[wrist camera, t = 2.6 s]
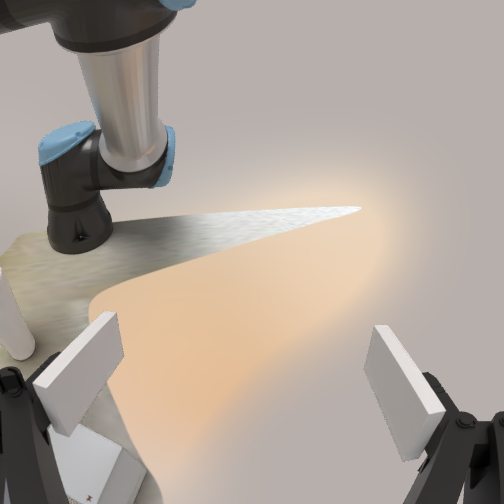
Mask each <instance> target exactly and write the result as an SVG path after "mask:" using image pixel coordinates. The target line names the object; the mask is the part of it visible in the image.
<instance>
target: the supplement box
mask: <svg viewBox="0 0 504 504" xmlns="http://www.w3.org/2000/svg"><path fill="white" fill-rule="evenodd" d="M48 432H49V434H50V439H51V443H52V447H53V451H54V455H55V459H56V463H57V466H58V470H59V473H60V477H61V480H62V483H63V486H64V489H65V492H66V495H67V496H68V497H70V498H71V499H73V500H74V501H76V502H78V503H79V504H133V503H134V501H135V498H136V496H137V493H138V491H139V489H140V486H141V484H142V482H143V480H144V477H145V475H146V472H147V469H146V468H145V467H144V466H143V465H142V464H141V463H139V462H138V461H137V460H136V459H135V458H134V457H133V456H132V455H131V454H130V453H129V452H128V451H127V450H126V449H125V448H124V447H123V446H121V445H119V444H118V443H116V442H114V441H112V440H110V439H108V438H106V437H104V436H102V435H100V434H99V433H97V432H95V431H93V430H91V429H89V428H88V427H86V426H84V425H82V424H80V423H79V424H78V425H77V427H76V428H75V430H74V431H73V433H72V435H71V436H70V438H69V437H66V436H63V435H61V434H58V433H56V432H55V431H54V429H53V427H52V425H50V427H49V429H48Z"/></svg>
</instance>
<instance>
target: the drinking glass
mask: <svg viewBox="0 0 504 504" xmlns="http://www.w3.org/2000/svg"><path fill="white" fill-rule="evenodd" d="M0 344H1V345H2V346H3V347H4V348H5V349H6V350H7V352H8V353H9V354H10V355H11V357H13V358H14V359H16V360H25V359H27V358H29V357H30V356H31V355H32V353H33V352H34V349H35V340H34V337H33V335H32V334H31V332H30V330H29V328H28V326H27V324H26V322H25V320H24V318H23V315H22V313H21V311H20V309H19V306H18V304H17V301H16V299H15V296H14V294H13V292H12V289H11V287H10V285H9V283H8V281H7V279H6V277H5V275H4V273H3V271H2V269H1V267H0Z"/></svg>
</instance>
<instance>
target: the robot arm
mask: <svg viewBox="0 0 504 504" xmlns="http://www.w3.org/2000/svg"><path fill="white" fill-rule="evenodd" d="M195 3H196V0H0V34H4V33H7V32H11V31H14V30H18V29H22V28H25V27H29V26H33V25H37V24H41V23H45V22H49V23H51V26H52V29H53V32H54V35H55V38H56V41H57V43H58V44H59V45H60V46H61V47H62V48H63V49H65V50H66V51H68V52H71V53H74V54H77V56H78V59H79V63H80V66H81V70H82V73H83V76H84V80H85V83H86V86H87V89H88V92H89V95H90V98H91V101H92V104H93V107H94V110H95V113H96V116H97V119H98V122H99V124H100V127H101V129H100V130H96V129H95V128H96V126H95V125H94V123H93V122H92V121H80V122H77V123H72V124H69V125H66V126H63V127H61V128H58V129H56V130H54V131H52V132H51V133H49V134H47V135H46V136H45V137H44V138H43V139H42V140H41V142H40V143H39V147H38V151H39V166H40V169H41V174H42V180H43V184H44V190H45V194H46V199H47V203H48V208H49V211H48V212H49V213H48V227H47V235H48V239H49V242H50V245H51V246H52V247H53V248H54V249H55V250H57V251H59V252H61V253H67V254H76V253H82V252H86V251H89V250H91V249H93V248H95V247H97V246H99V245H100V244H102V243H103V242H104V241H105V240H106V239H107V238H108V237H109V236H110V234H111V232H112V228H113V226H112V219H111V215H110V213H109V211H108V210H107V209H106V206H105V204H104V201H103V199H102V197H101V195H100V190H108V189H128V188H155V187H163V186H166V185H167V184H168V183H169V181H170V179H171V175H172V170H173V163H174V155H175V132H174V130H173V128H172V127H170V126H166V125H164V124H163V123H162V121H161V120H160V119H159V118H158V56H159V35H160V34H161V33H162V32H163V31H165V30H166V29H167V28H168V27H169V26H170V25H171V24H172V23H173V21H174V19H175V18H176V15H177V12H178V11H180V10H182V9H184V8H190V7H192V6H194V5H195ZM123 357H124V353H123V348H122V343H121V337H120V331H119V325H118V319H117V313H116V312H108V311H103V313H101V314H100V315H99V316H98V317H97V318H96V319H95V320H94V321H93V322H92V323H91V324H90V325H89V326H88V327H87V328H86V329H85V330H84V331H83V332H82V333H81V334H80V335H79V336H78V337H77V338H76V339H75V340H74V341H73V342H72V343H71V344H70V345H69V346H68V347H67V348H66V349H65V350H64V351H63V352H57V353H55V354H54V355H52V356H50V357H49V358H48V359H47V360H46V361H45V362H44V364H42V365H41V366H40V367H39V368H38V369H37V370H36V371H35V372H34V373H33V374H32V375H31V376H30V377H29V378H28V379H27V380H26V381H24V379H23V376H22V374H21V371H20V370H19V369H18V368H16V367H5V368H2V369H1V370H0V504H4V494H5V482H6V481H7V487H8V493H9V499H10V504H69V501H68V498H67V495H66V492H65V489H64V486H63V483H62V480H61V477H60V473H59V470H58V466H57V463H56V459H55V455H54V451H53V447H52V443H51V439H50V434H49V432H48V430H47V427H48V426H49V425H50V423H51V425H52V427H53V429H54V431H55V432H56V433H58V434H61V435H63V436H66V437H69V438H70V436H71V435H72V433H73V431H74V430H75V428H76V427H77V425H78V424H79V422H80V421H81V419H82V418H83V416H84V415H85V413H86V412H87V410H88V409H89V407H90V406H91V404H92V403H93V401H94V400H95V398H96V397H97V395H98V394H99V392H100V391H101V389H102V388H103V386H104V385H105V383H106V382H107V380H108V379H109V377H110V376H111V374H112V373H113V372H114V370H115V369H116V367H117V366H118V364H119V363H120V362H121V360H122V359H123ZM364 372H365V374H366V376H367V378H368V381H369V383H370V385H371V387H372V390H373V392H374V394H375V397H376V399H377V401H378V403H379V406H380V408H381V411H382V413H383V415H384V418H385V420H386V422H387V425H388V427H389V430H390V432H391V435H392V437H393V439H394V442H395V444H396V447H397V449H398V452H399V454H400V457H401V459H402V462H405V461H409V460H414V459H418V458H419V457H420V455H421V454H422V452H423V451H424V449H425V451H426V453H427V455H428V456H427V458H426V459H425V461H424V462H423V464H422V465H421V467H420V468H419V470H418V471H419V474H418V476H417V478H416V480H415V482H414V484H413V486H412V488H411V490H410V491H409V493H408V495H407V497H406V499H405V501H404V503H403V504H457V501H458V498H459V496H460V493H461V490H462V487H463V484H464V481H465V485H464V499H463V504H504V411H503V412H498V413H496V414H495V416H494V418H493V419H492V421H477V419H476V418H475V417H474V416H473V415H472V414H469V413H467V412H460V411H459V410H458V409H457V407H456V406H455V404H454V403H453V401H452V400H451V398H450V397H449V395H448V394H447V393H445V390H444V388H443V387H441V384H440V383H439V381H438V380H437V378H435V377H434V376H433V375H431V374H430V373H429V372H425V373H421V372H420V371H419V369H418V367H417V366H416V365H415V363H414V362H413V360H412V359H411V357H410V356H409V354H408V353H407V352H406V350H405V349H404V347H403V346H402V345H401V343H400V342H399V340H398V339H397V337H396V336H395V335H394V333H393V332H392V331H391V329H390V328H389V327H388V325H376V326H374V328H373V333H372V337H371V342H370V346H369V350H368V354H367V358H366V362H365V366H364Z"/></svg>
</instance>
